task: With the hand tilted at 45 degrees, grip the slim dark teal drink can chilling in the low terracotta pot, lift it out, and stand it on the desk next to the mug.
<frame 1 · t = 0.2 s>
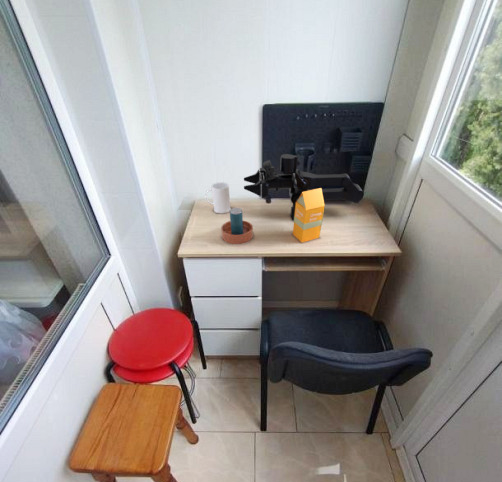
hand: (243, 183, 122), 17 cm above the table, tool horizontal, fingers open, 9 cm apart
pot: (237, 236, 122), on the table
orange juice: (305, 236, 122), on the table
can: (237, 235, 122), point 1 cm above the table, touching pot
mug: (219, 209, 141), on the table
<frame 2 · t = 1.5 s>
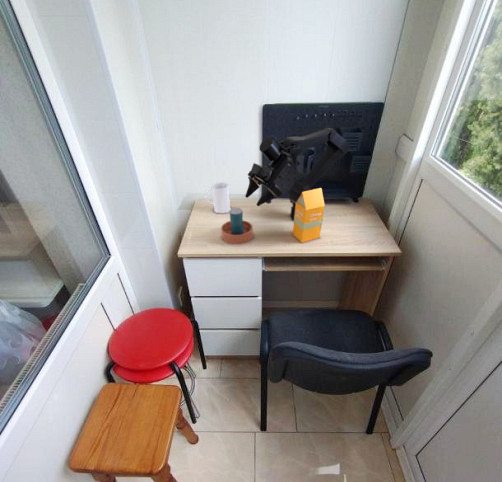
hand: (251, 201, 115), 14 cm above the table, tool tilted 45°, fingers open, 9 cm apart
nothing on the table moved.
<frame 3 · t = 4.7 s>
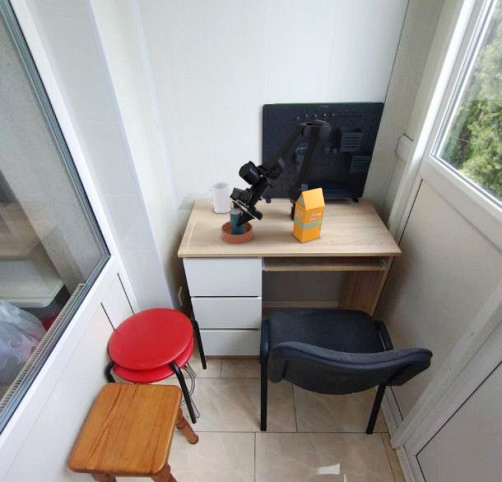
hand: (233, 223, 117), 7 cm above the table, tool tilted 45°, fingers closed on can, 5 cm apart
can: (237, 235, 122), point 1 cm above the table, touching gripper, pot
everything else where it was.
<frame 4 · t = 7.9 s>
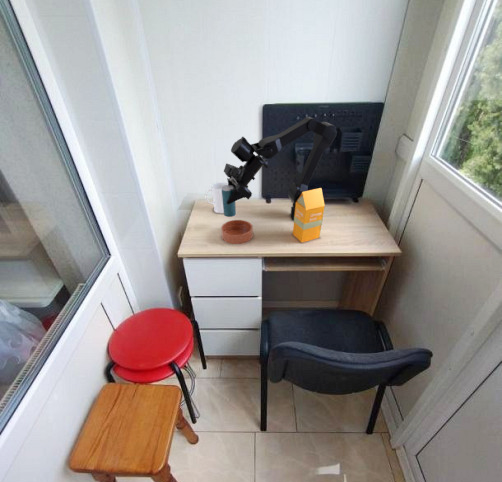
hand: (225, 200, 117), 13 cm above the table, tool tilted 45°, fingers closed on can, 5 cm apart
can: (229, 214, 122), point 7 cm above the table, touching gripper
everything else where it was.
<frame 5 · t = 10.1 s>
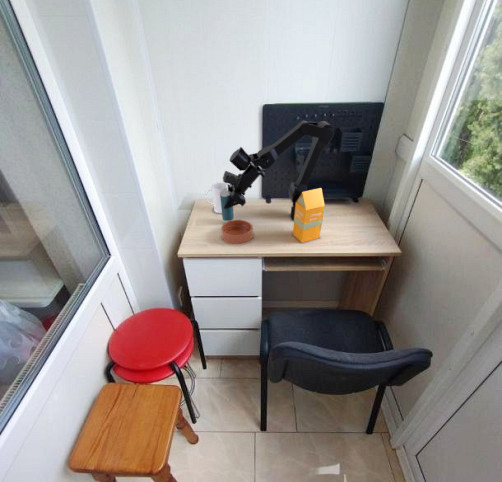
hand: (223, 205, 124), 9 cm above the table, tool tilted 45°, fingers closed on can, 5 cm apart
can: (228, 218, 129), point 3 cm above the table, touching gripper
everything else where it was.
when the fingers open (6 cm above the table, at t = 11.4 s): can stays where it is, on the table.
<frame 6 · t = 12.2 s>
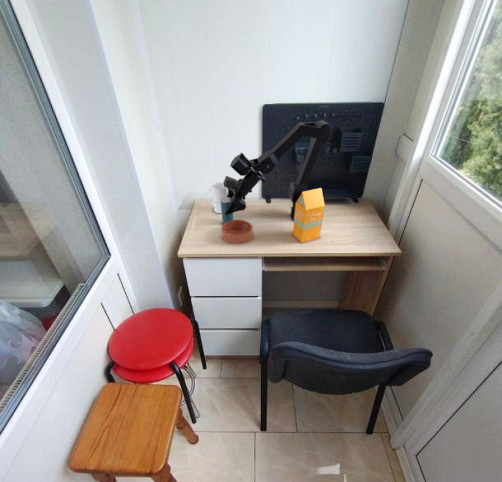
hand: (224, 209, 126), 7 cm above the table, tool tilted 45°, fingers open, 9 cm apart
can: (228, 223, 131), on the table
everything else where it was.
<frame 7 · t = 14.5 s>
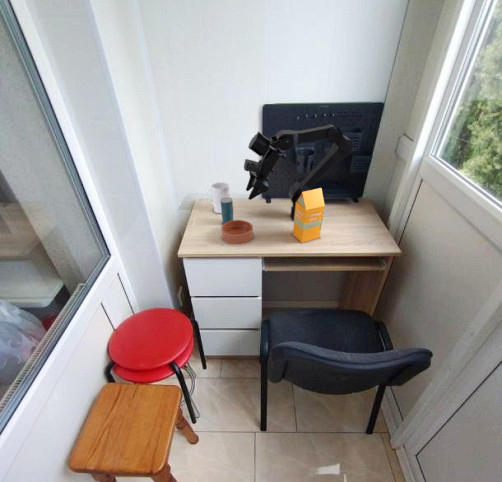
hand: (247, 194, 123), 12 cm above the table, tool tilted 35°, fingers open, 9 cm apart
nothing on the table moved.
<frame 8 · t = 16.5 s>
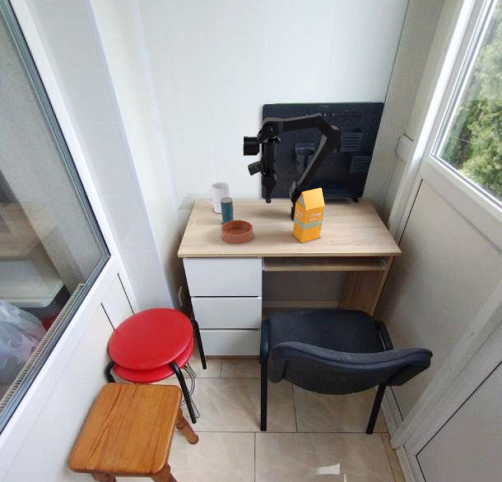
hand: (267, 193, 126), 12 cm above the table, tool pointing down, fingers open, 9 cm apart
nothing on the table moved.
at the end: can inside the target area (0.1 cm from its centre), on the table; can tilted 0°; can 15.4 cm from the mug (horizontally) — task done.
